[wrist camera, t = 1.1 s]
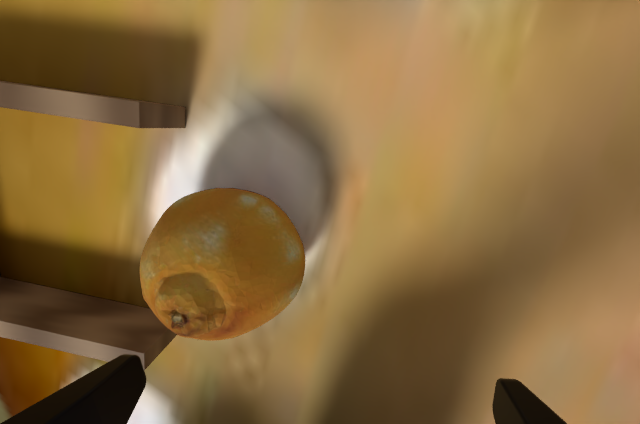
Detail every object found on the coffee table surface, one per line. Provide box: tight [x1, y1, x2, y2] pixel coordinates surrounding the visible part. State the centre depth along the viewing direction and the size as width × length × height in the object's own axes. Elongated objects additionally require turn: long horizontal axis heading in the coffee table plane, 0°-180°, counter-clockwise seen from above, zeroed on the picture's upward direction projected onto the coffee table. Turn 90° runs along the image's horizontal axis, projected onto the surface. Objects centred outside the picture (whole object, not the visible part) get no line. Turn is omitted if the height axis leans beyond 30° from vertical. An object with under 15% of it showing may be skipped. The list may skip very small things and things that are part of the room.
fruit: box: [140, 188, 305, 340], centre depth 17 cm, size 8×8×8 cm
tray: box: [0, 81, 185, 370], centre depth 20 cm, size 16×15×4 cm
